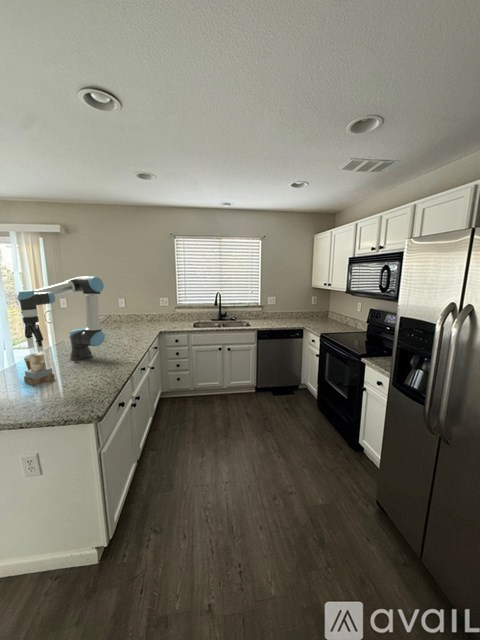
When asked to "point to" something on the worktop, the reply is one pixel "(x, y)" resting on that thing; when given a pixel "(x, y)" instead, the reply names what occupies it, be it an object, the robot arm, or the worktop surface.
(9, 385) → the worktop surface
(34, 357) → the birch block
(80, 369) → the worktop surface
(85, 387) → the worktop surface
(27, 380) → the base slab
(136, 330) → the worktop surface
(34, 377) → the top slab
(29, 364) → the disposable coffee cup
